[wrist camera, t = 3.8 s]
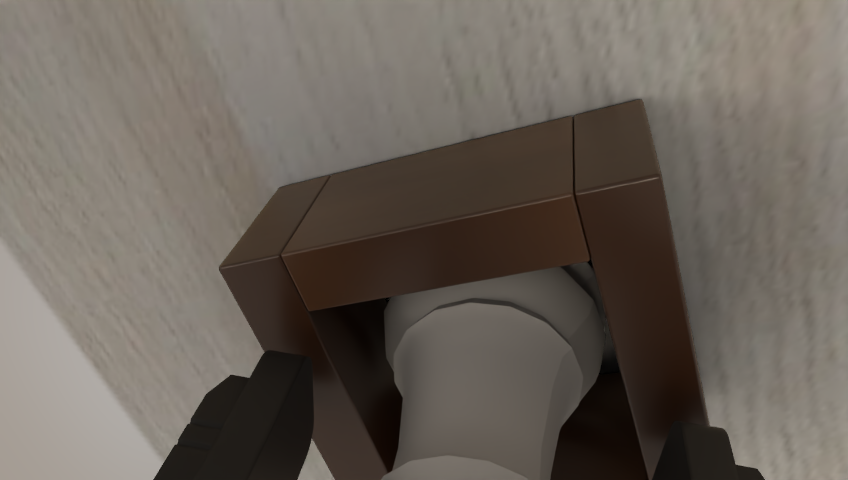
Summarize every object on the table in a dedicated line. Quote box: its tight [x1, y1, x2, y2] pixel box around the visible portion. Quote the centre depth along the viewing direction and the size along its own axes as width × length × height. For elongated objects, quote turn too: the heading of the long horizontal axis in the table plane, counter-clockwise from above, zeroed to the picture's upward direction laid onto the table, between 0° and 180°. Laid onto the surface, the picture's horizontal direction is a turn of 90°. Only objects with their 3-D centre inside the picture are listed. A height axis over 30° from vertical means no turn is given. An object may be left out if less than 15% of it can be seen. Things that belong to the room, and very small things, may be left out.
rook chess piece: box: [381, 262, 606, 480], centre depth 11 cm, size 4×4×8 cm
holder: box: [219, 100, 710, 480], centre depth 14 cm, size 7×7×3 cm
